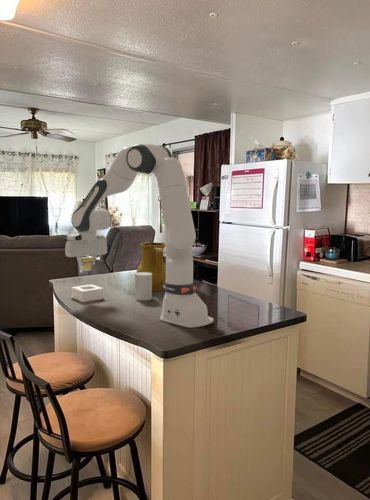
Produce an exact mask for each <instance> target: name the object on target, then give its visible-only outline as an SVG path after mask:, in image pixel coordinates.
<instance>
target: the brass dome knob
mask: <svg viewBox="0 0 370 500" xmlns="http://www.w3.org/2000/svg"><path fill="white" fill-rule="evenodd" d="M81 261H82V262H84V265H83V266H81V270H82V271H83V272H90V271H92V269H93V268H92V266H93V265H92V261H94V258H93V257H92V256H91V257H90V256H81Z"/></svg>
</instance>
